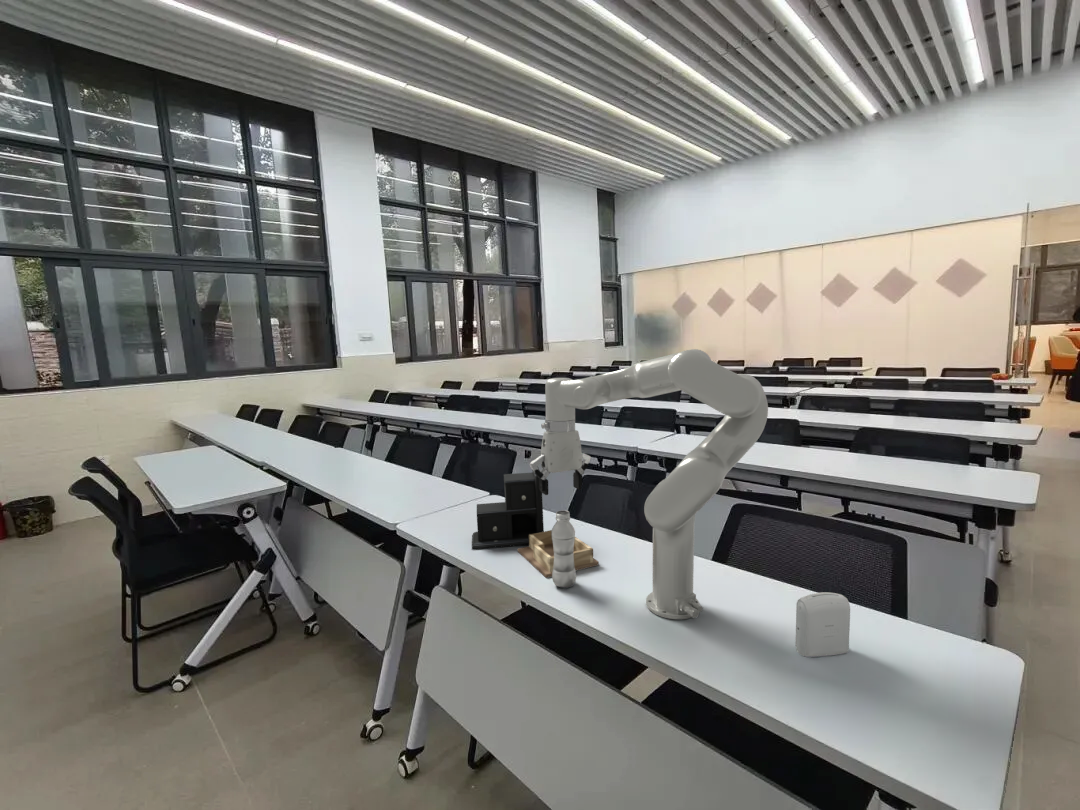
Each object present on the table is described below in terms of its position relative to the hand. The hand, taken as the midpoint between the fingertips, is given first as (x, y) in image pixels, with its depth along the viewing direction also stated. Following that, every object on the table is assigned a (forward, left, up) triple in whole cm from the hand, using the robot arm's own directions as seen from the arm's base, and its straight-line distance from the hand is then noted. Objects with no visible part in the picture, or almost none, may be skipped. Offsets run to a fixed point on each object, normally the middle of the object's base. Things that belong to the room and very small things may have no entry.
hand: (561, 490), depth 131 cm
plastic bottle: (0, 0, -26) cm, 26 cm away
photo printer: (-50, -33, -26) cm, 66 cm away
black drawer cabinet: (+36, +2, -26) cm, 44 cm away
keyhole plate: (+16, -6, -26) cm, 31 cm away
